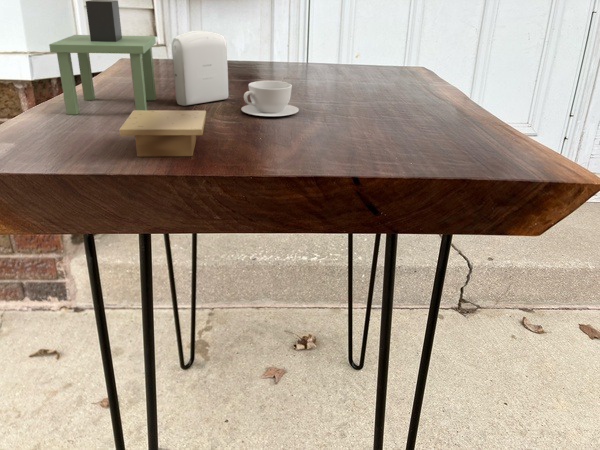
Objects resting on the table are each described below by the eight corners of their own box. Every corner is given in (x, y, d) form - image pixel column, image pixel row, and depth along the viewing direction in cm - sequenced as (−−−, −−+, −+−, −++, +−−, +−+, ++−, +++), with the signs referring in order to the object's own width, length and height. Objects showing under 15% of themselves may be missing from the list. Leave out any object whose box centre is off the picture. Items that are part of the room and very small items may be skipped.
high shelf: (60, 115, 85) (48, 44, 80) (83, 97, 98) (74, 34, 93) (149, 115, 87) (143, 45, 82) (160, 97, 99) (155, 36, 95)
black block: (90, 41, 85) (85, 1, 82) (97, 38, 90) (93, -1, 87) (116, 41, 85) (111, 1, 83) (122, 38, 90) (118, 0, 87)
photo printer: (184, 107, 93) (179, 33, 88) (172, 103, 96) (166, 30, 90) (232, 100, 99) (230, 30, 94) (219, 96, 102) (216, 28, 97)
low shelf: (122, 160, 66) (118, 129, 64) (136, 138, 75) (133, 110, 73) (203, 160, 67) (202, 129, 65) (207, 138, 76) (206, 110, 74)
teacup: (278, 103, 98) (278, 77, 96) (310, 114, 91) (311, 87, 89) (230, 109, 93) (229, 82, 91) (260, 121, 85) (260, 92, 83)
